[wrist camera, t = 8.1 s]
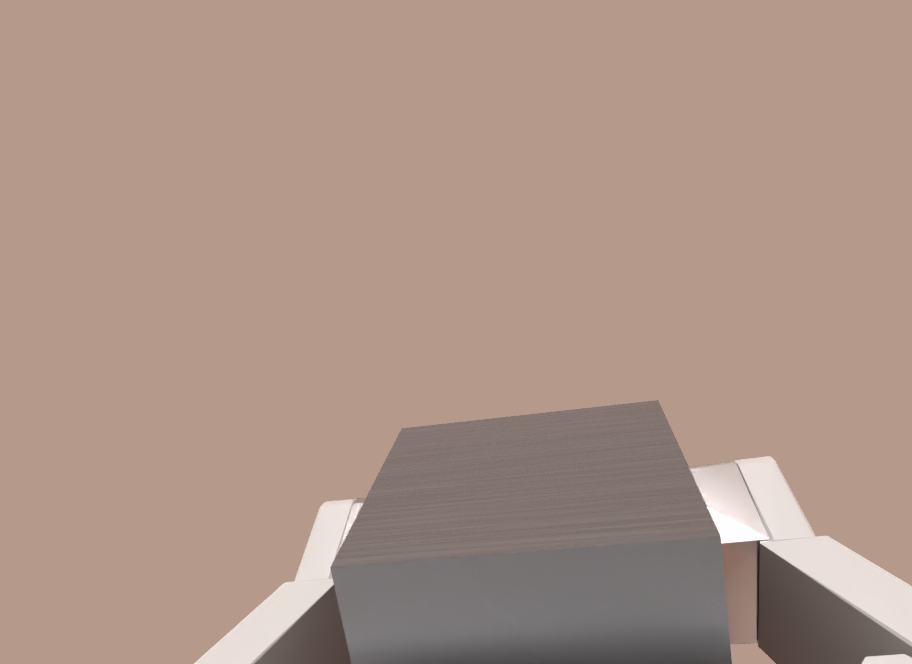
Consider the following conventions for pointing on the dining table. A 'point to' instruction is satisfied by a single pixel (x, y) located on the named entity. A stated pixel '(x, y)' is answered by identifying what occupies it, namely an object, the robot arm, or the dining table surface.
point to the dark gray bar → (535, 546)
